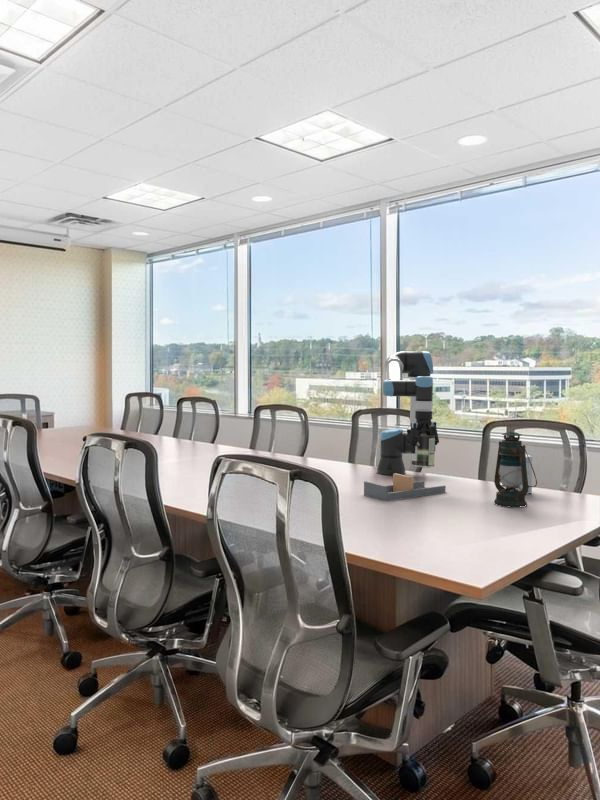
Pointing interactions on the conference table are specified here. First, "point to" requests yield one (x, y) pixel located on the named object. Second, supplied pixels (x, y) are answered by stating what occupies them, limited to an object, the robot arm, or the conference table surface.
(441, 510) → the conference table surface
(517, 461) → the lantern
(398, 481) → the block
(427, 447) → the coffee can
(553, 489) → the conference table surface
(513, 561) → the conference table surface
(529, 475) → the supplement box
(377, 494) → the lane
